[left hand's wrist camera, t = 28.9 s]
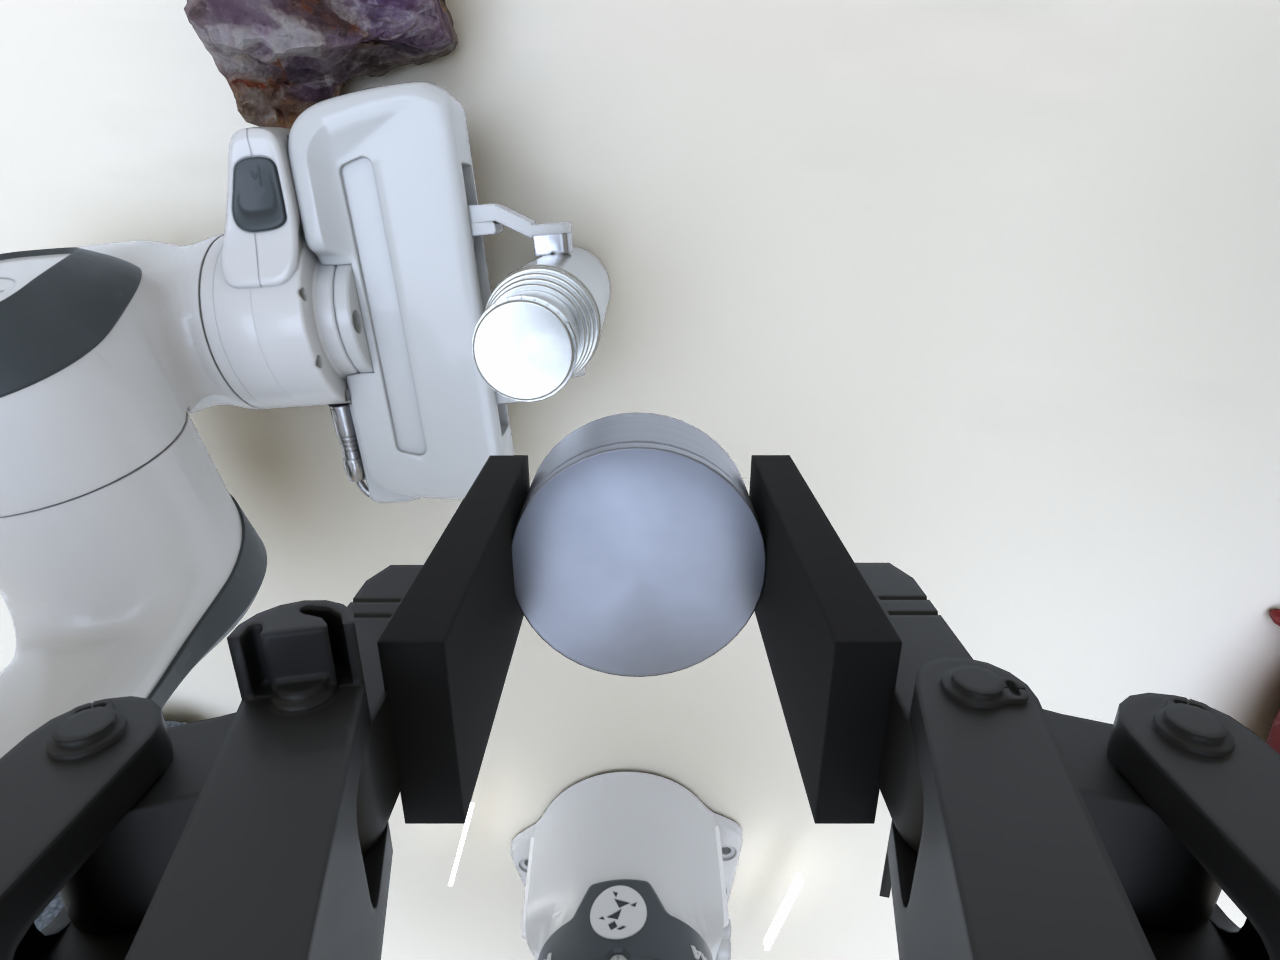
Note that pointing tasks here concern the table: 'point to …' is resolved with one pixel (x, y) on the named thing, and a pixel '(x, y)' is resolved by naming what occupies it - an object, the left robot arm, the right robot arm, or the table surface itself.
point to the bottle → (542, 325)
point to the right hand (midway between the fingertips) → (577, 299)
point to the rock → (313, 47)
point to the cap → (638, 547)
